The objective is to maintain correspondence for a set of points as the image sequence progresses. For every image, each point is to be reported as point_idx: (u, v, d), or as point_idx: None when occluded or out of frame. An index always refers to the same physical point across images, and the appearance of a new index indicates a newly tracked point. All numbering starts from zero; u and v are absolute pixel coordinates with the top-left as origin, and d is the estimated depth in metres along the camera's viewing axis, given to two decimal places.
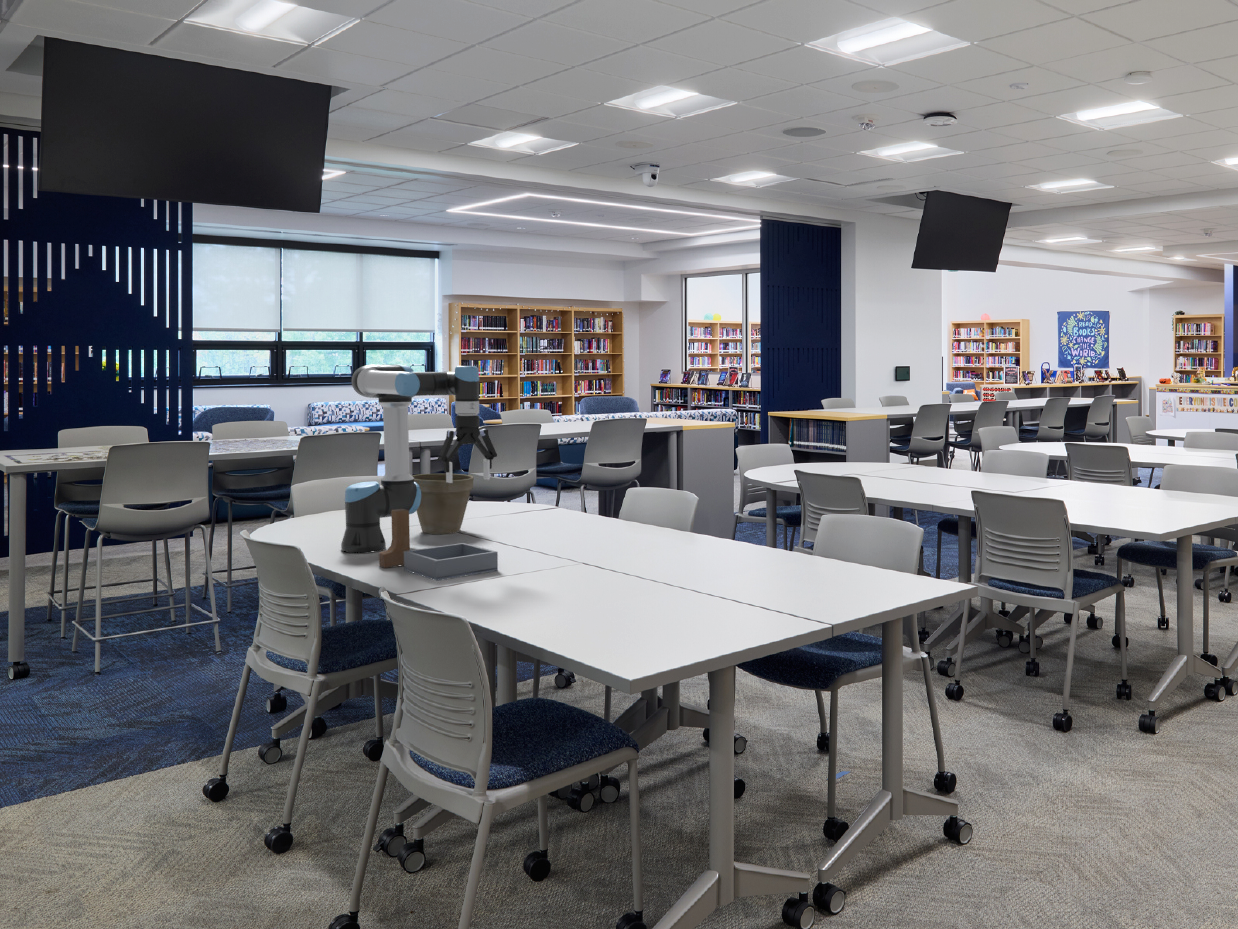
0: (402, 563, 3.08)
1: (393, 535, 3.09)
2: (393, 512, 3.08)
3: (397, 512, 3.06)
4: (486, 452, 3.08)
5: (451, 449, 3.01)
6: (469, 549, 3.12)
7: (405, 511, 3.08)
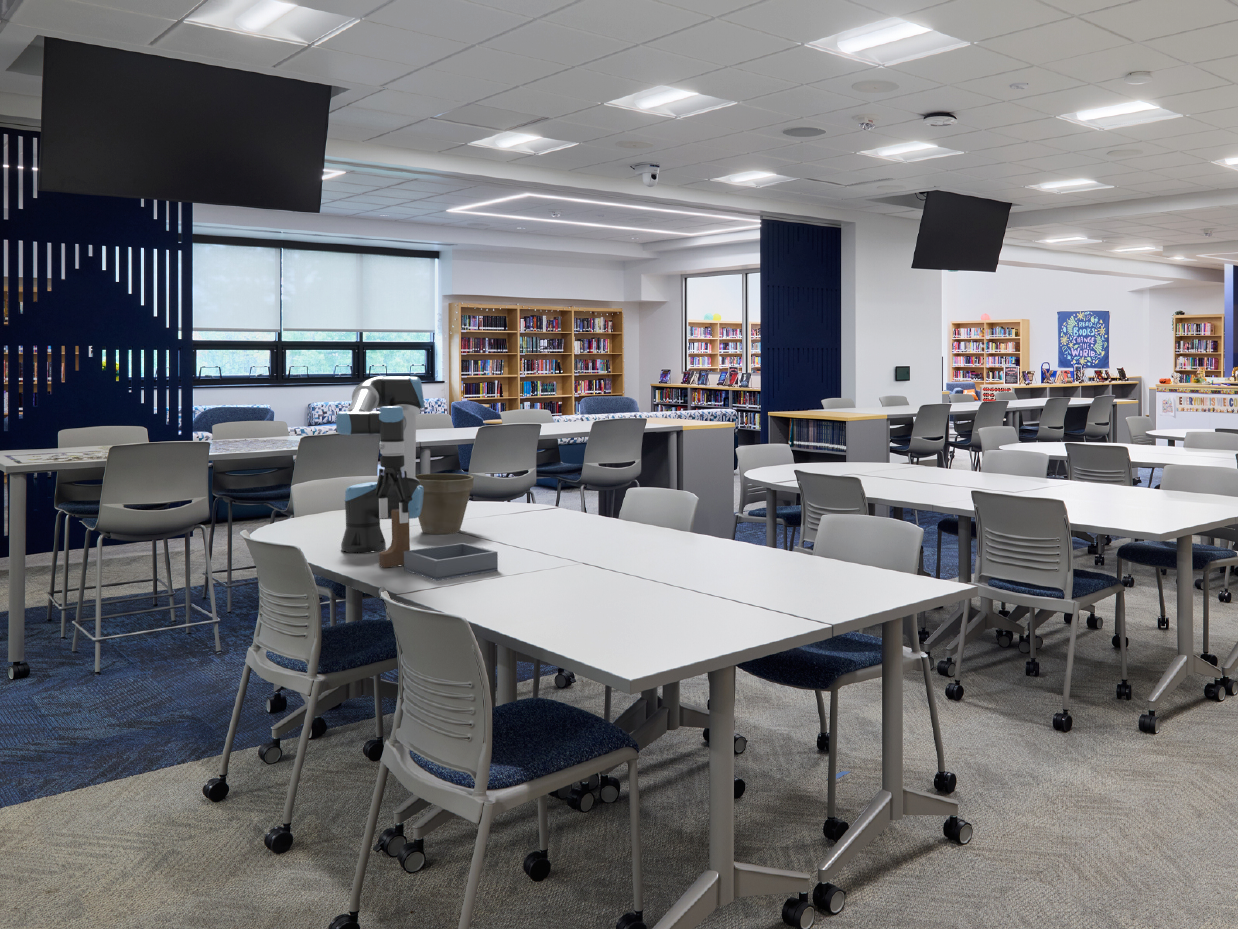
0: (402, 563, 3.08)
1: (393, 535, 3.09)
2: (393, 512, 3.08)
3: (397, 512, 3.06)
4: (399, 495, 3.01)
5: None
6: (469, 549, 3.12)
7: None
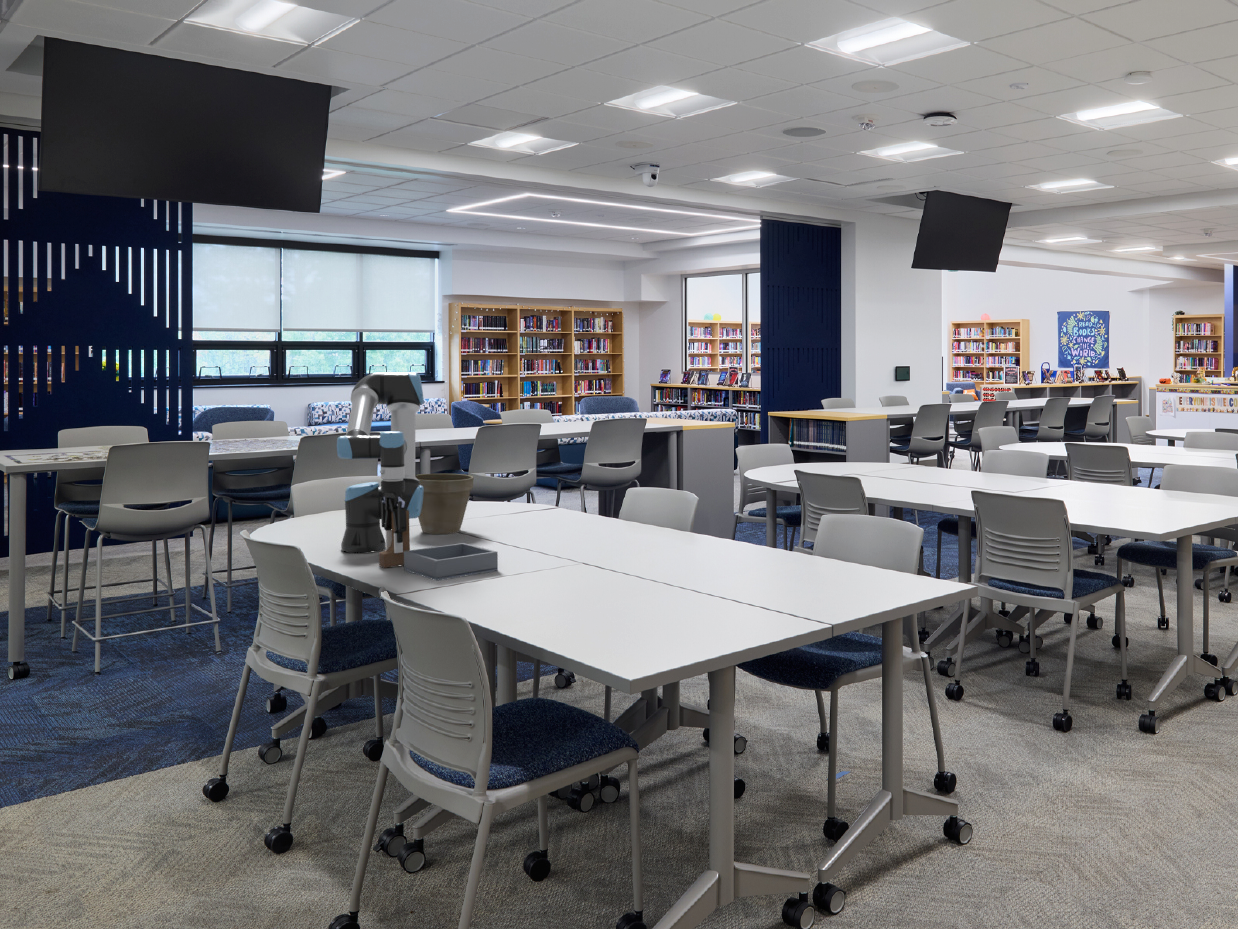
0: (402, 563, 3.08)
1: (393, 535, 3.09)
2: None
3: None
4: (395, 524, 3.05)
5: None
6: (469, 549, 3.12)
7: None
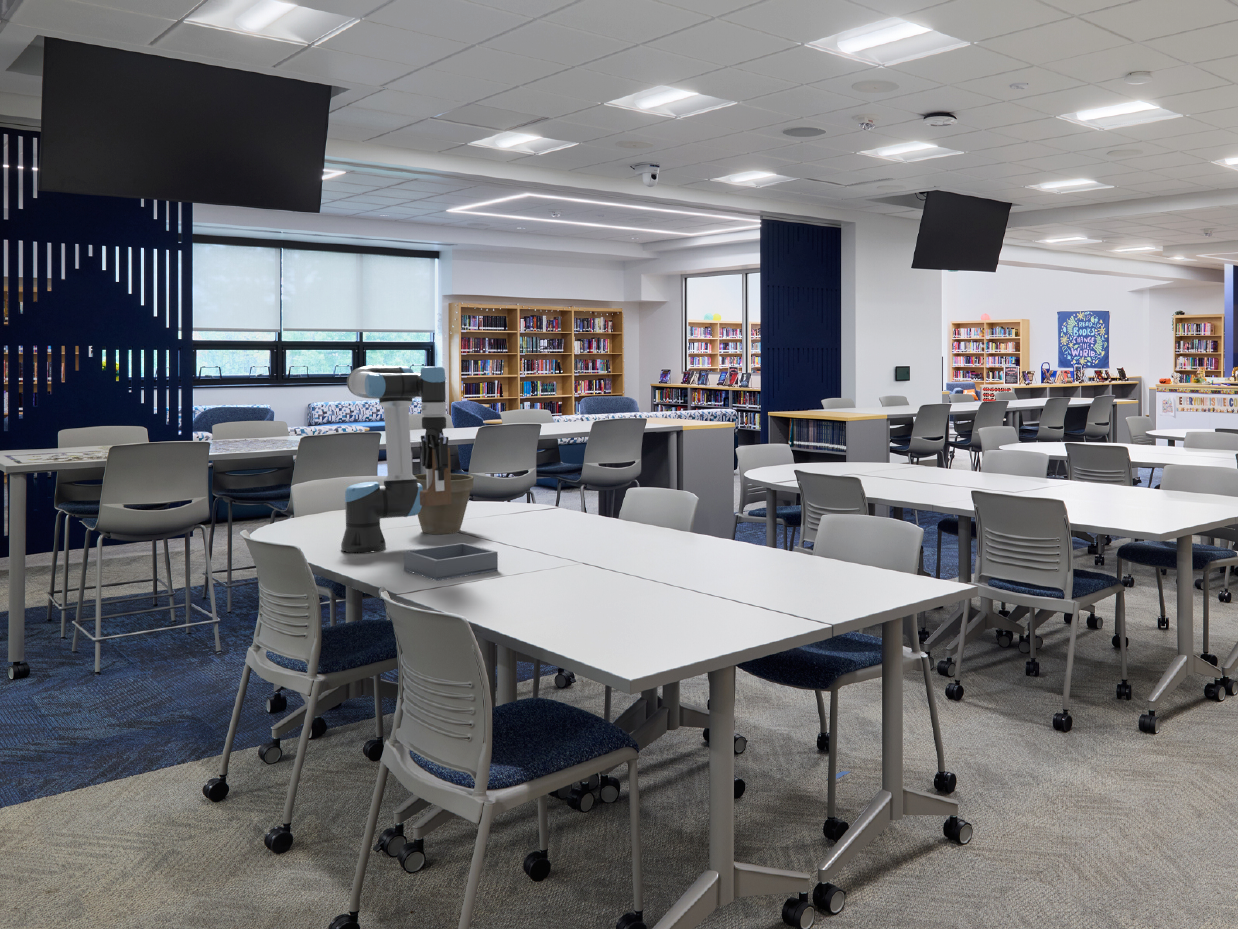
0: (443, 502, 3.00)
1: (434, 473, 3.01)
2: None
3: None
4: (436, 461, 2.97)
5: None
6: (469, 549, 3.12)
7: None
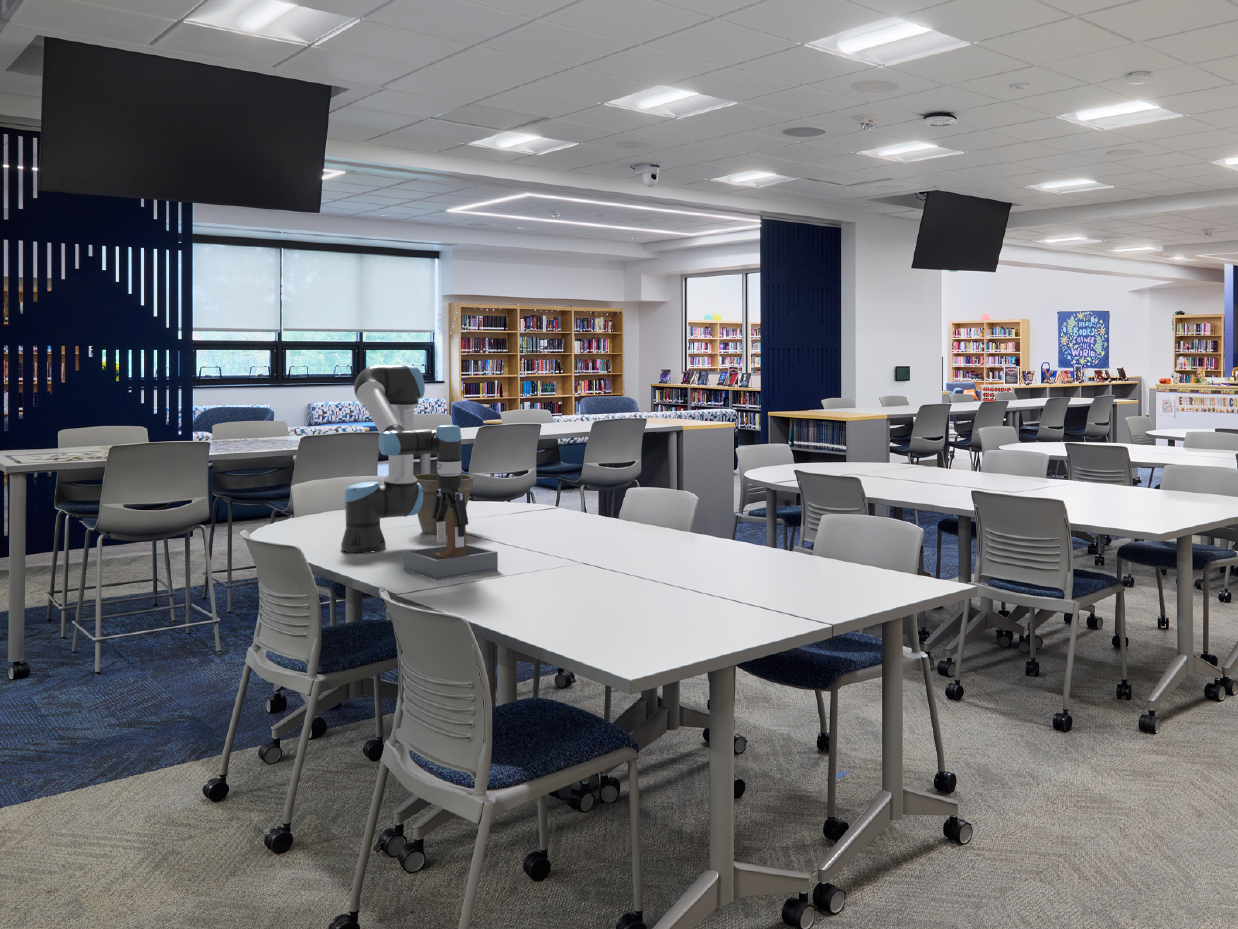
0: None
1: (449, 536, 3.02)
2: (449, 512, 3.01)
3: None
4: (455, 518, 2.96)
5: None
6: (469, 549, 3.12)
7: None
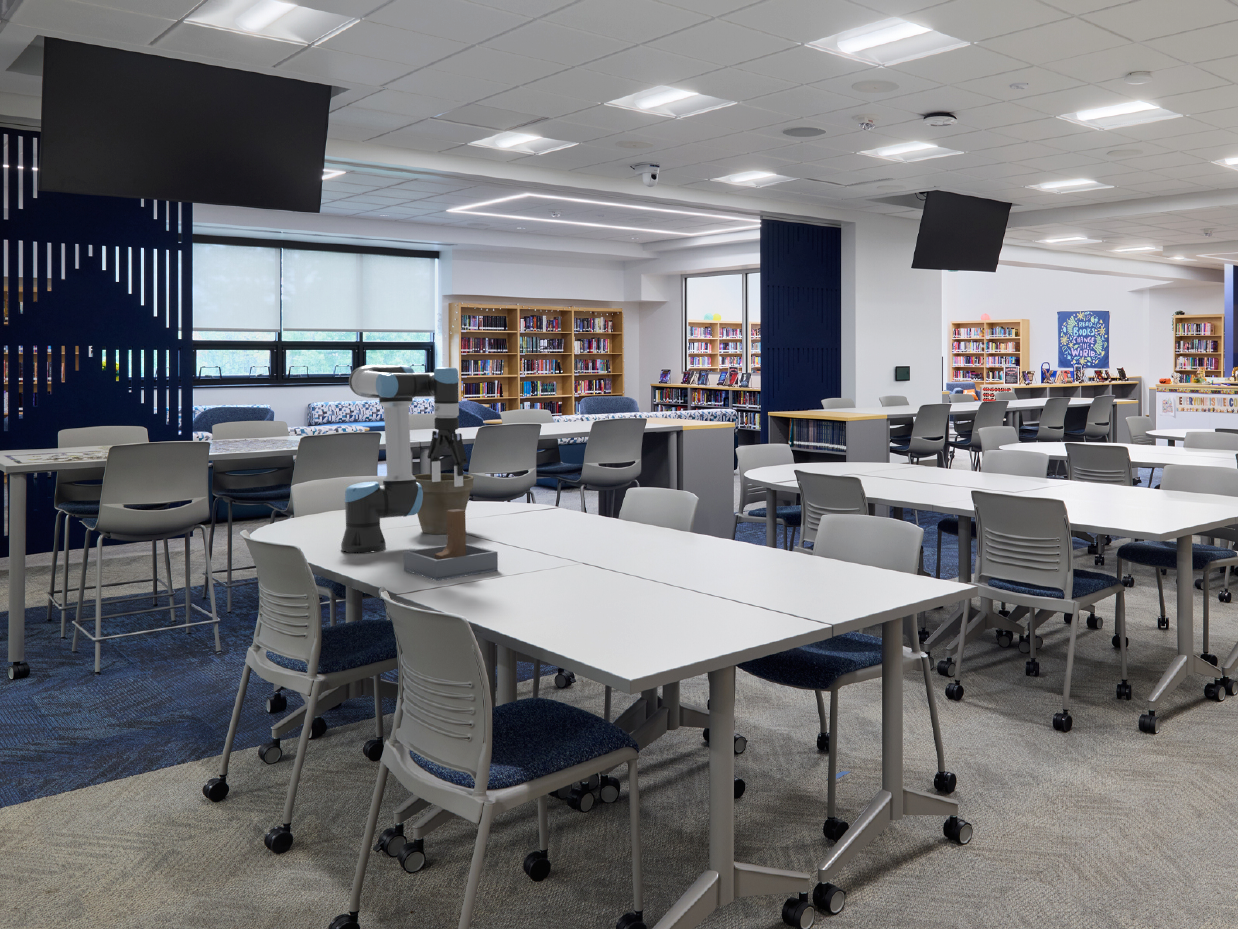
0: None
1: (449, 536, 3.02)
2: (449, 512, 3.01)
3: (454, 512, 2.99)
4: (454, 457, 2.96)
5: None
6: (469, 549, 3.12)
7: (461, 511, 3.01)
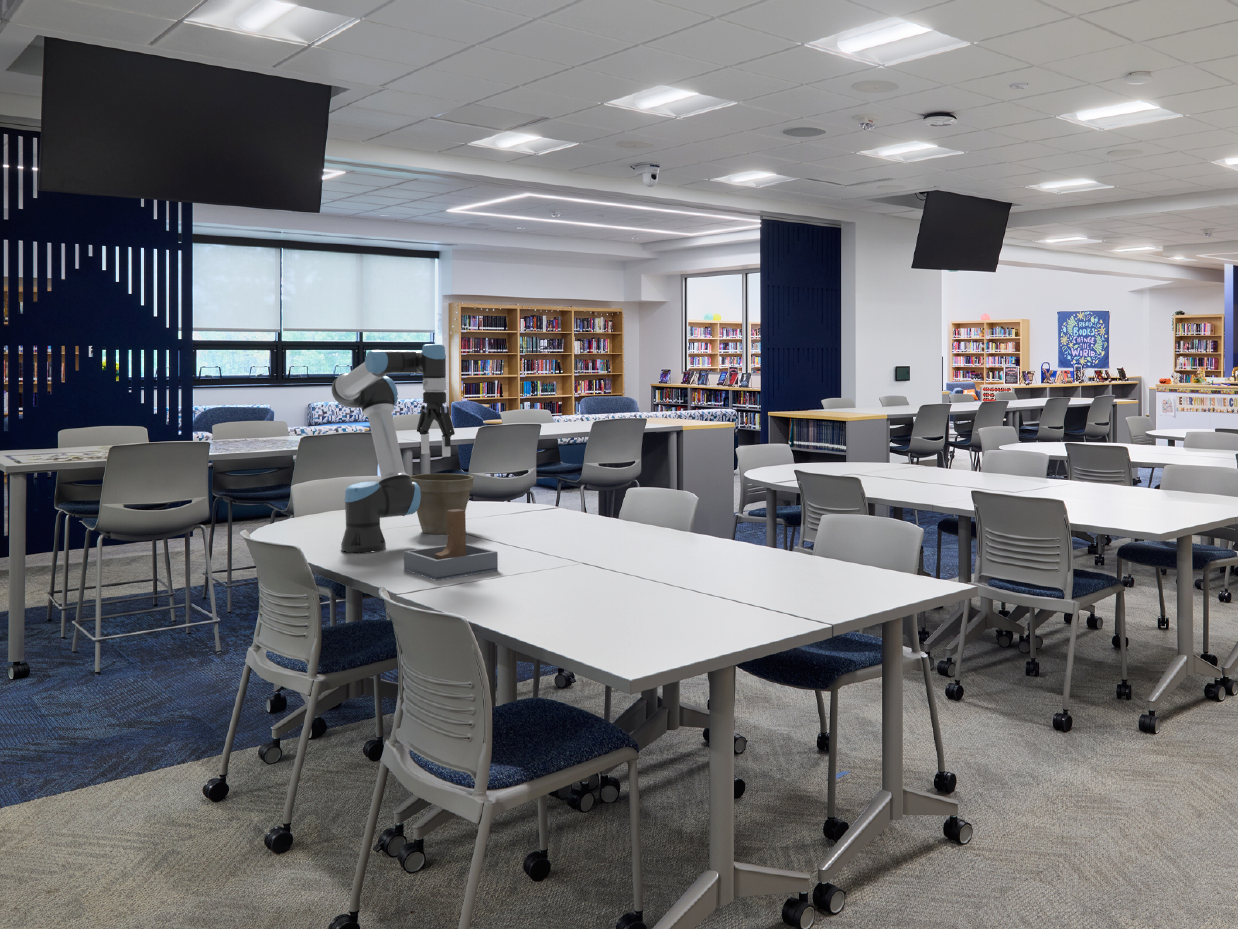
0: None
1: (449, 536, 3.02)
2: (449, 512, 3.01)
3: (454, 512, 2.99)
4: (441, 429, 3.12)
5: None
6: (469, 549, 3.12)
7: (461, 511, 3.01)
